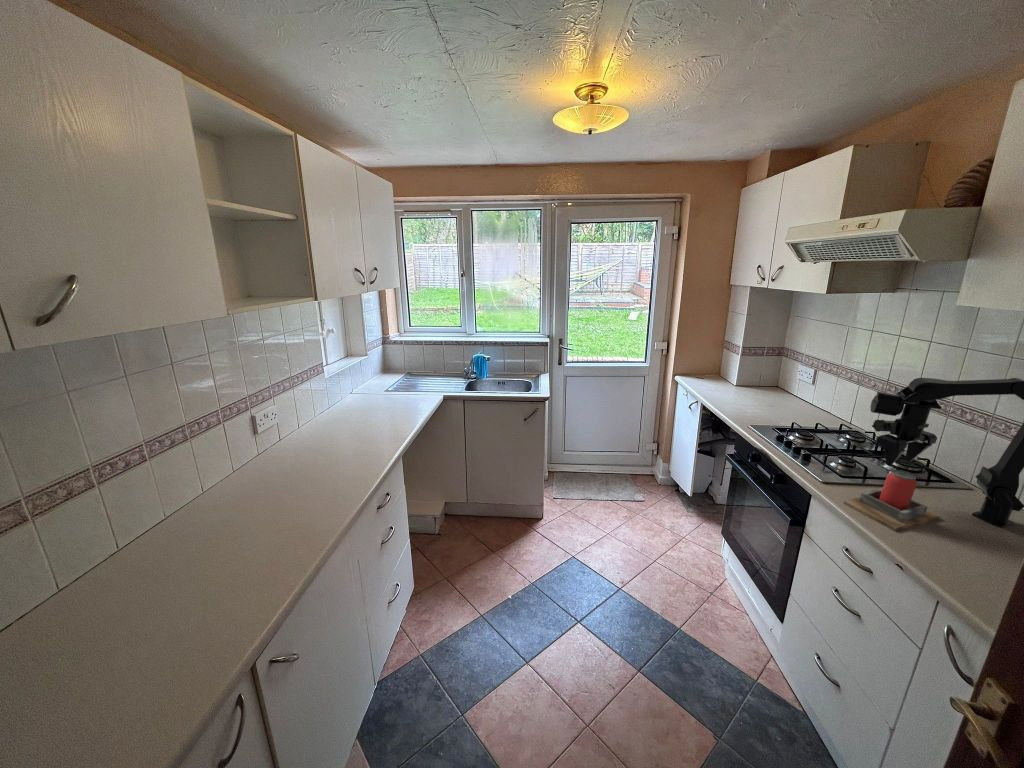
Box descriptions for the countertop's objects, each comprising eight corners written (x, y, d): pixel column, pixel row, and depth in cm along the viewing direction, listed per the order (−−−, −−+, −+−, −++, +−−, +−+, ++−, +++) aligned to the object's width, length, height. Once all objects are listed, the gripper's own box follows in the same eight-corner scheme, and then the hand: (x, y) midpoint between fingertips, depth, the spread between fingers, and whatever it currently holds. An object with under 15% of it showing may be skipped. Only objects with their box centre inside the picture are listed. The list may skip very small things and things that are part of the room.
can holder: (885, 493, 132) (889, 482, 131) (939, 518, 120) (943, 507, 118) (843, 503, 126) (846, 492, 125) (895, 531, 114) (899, 519, 113)
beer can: (891, 501, 126) (903, 468, 122) (912, 514, 120) (925, 479, 116) (871, 502, 126) (882, 468, 122) (891, 514, 119) (903, 480, 116)
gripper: (902, 406, 133) (888, 448, 137) (864, 412, 127) (850, 455, 132) (945, 419, 123) (928, 463, 127) (905, 425, 117) (889, 472, 122)
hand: (898, 463), depth 127 cm, fingers open, 9 cm apart
